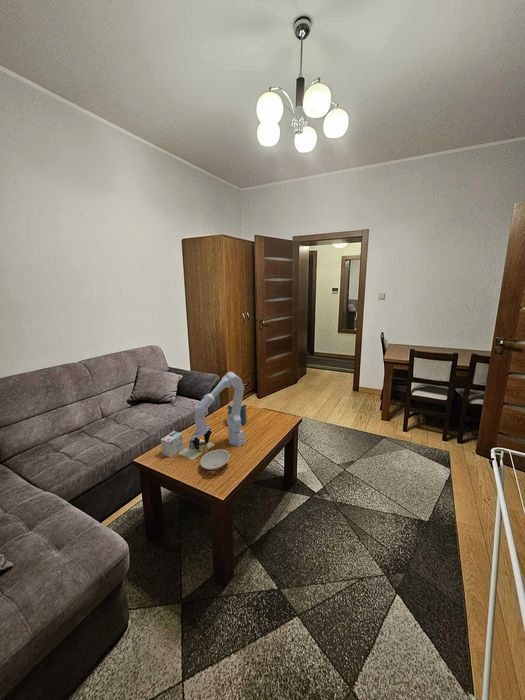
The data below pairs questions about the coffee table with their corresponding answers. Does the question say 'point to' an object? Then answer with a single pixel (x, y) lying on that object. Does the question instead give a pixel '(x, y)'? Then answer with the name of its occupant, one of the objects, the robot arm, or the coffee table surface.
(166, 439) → the light bulb box
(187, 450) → the gear board
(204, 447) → the gear
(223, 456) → the dish
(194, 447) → the gear
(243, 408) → the canister
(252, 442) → the coffee table surface
